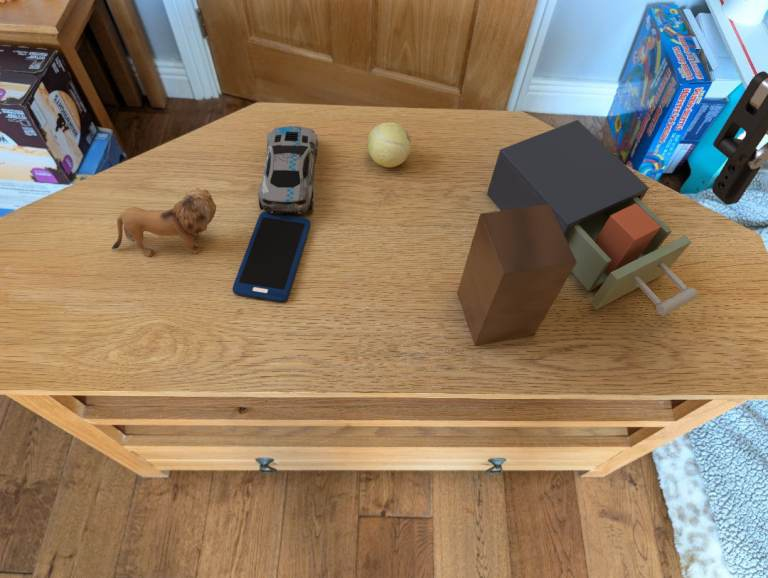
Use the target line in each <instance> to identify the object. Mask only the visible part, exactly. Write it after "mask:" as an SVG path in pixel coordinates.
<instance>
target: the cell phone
mask: <svg viewBox="0 0 768 578" xmlns="http://www.w3.org/2000/svg"><path fill="white" fill-rule="evenodd" d="M255 223H256V224H255V226H254V228H253V231H252V234H251V236H250V239H249V242H248V245H247V247H246V250H245V253H244V255H243V258H242V261H241V263H240V266H239V269H238V271H237V274H236V277H235V279H234V282H233V285H232V289H231V290H232V292H233V294H234V295H237V296H241V297H247V298H252V299H258V300H265V301H271V302H277V303H286V302H288V299H289V297H290V294H291V292H292V289H293V286H294V285H293V284H294V282H295V278H296V275H297V272H298V269H299V265H300V262H301V259H302V256H303V252H304V250H305V249H304V248H305V246H306V243H307V239H308V236H309V233H310V230H311V225H312V224H311V220H310V219H309V218H307V217H303V216H297V215H291V214H285V213H283V214H282V213H279V214H278V213H275V214H271V213H267V212H265V211H262V212H261V213H259V216H258V218H257V220H256V222H255Z"/></svg>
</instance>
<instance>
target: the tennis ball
mask: <svg viewBox="0 0 768 578" xmlns="http://www.w3.org/2000/svg"><path fill="white" fill-rule="evenodd" d="M366 142H367V143H366V145H365V146H366V148H367V151H368V154H369V155H370V156H369V157H370V158H371V160H372V161H373V162H374V163H376V164H377V165H379V166H381V167H385V168H394V167H398V166H399V165H401V164H403V163H404V162H405V161H406V160H407V158H408V157H409V155H410V153H411V146H412V140H411V137H410V134H409V132H408V130H407V129H406V128H405V127H404V126H402V125H401V124H400V123H397V122H392V121H391V122H390V121H387V122H383V123H379V124H378V125H376V126H375V127H374V128H373V129H372V130H370V132H369V135H368V136H367V141H366Z"/></svg>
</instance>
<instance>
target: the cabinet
mask: <svg viewBox="0 0 768 578" xmlns="http://www.w3.org/2000/svg"><path fill="white" fill-rule="evenodd" d="M649 189H650V187H649V186H648V185H647V184H646V183H645V182H643V180H642V179H641V178H640V177H639V176H637V174H635V172H633V171H632V170H631V169H630V168H629V167H628V166H627V165H626V164H625V163H624V162H622V160H621V159H620V158H618V157H617V156H616V155H615V154H614V153H613V152H612V151H611V150H610V149H609V148H608V147H607V146H606V145H605V144H604V143H603V142H602V141H601V140H599V139H598V137H596V136H595V135H594V134H593V133H592V132H591V131H590V130H589V129H588V128H587V127H586V126H585V125H584V124H582V122H581V121H580V120H578V119H576V120H573V121H570V122H568V123H565V124H562V125H560V126H558V127H555V128H552V129H551V130H550V129H549V130H547V131H545V132H542V133H539V134H537V135H533V136H532V137H529V138H526V139H524V140H521V141H519V142H516V143H514V144H510V145H508V146H505V147H503V148H500V149H499V152H498V155H497V158H496V162H495V165H494V169H493V171H492V175H491V179H490V182H489V184H488V189H487V193H486V195H487V196H488V197H489V198H490V199H491V201H492V203H494V204H495V206H496V207H497V208H498V209H499V211H504V210H511V209H518V208H526V207H533V206H540V205H547V204H549V205H550V207H551V209H552V212H553V214H554V216H555V218H556V220H557V222H558V224H559V226H560V228H561V230H562V232H563V234H564V236H565V238H566V236H567V234H568V232H569V230H570V228H571V226H573V225H575V224H578V223H580V222H582V221H584V220H586V219H588V218H591V217H593V216H595V215H597V214H599V213H602V212H604V211H606V210H608V209H610V208H613V207H615V206H617V205H619V204H621V203H624V202H626V201H628V200H630V199H632V198H635V197H638V198H639V199H640V200H641V201H642V200H643V199H644V197H645V196H646V194H647V192H648V190H649Z"/></svg>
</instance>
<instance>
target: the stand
mask: <svg viewBox="0 0 768 578" xmlns="http://www.w3.org/2000/svg"><path fill="white" fill-rule="evenodd" d="M467 254H468V255H467V258H466V261H465V264H464V268H463V272H462V275H461V278H460V282H459V285H458V288H457V292H456V293H457V297H458V299H459V300H458V301H459V303H460V306H461V308H462V311H463V315H464V318H465V320H466V323H467V327H468V329H469V333H470V335H471V338H472V341H473V345H474V346H482V345H487V344H492V343H498V342H505V341H510V340H515V339H520V338H527V337H532V336H535V335H536V334H537V332H538V330H539V328H540V327H541V325H542V324H543V321H544V320H545V318H546V317H547V315H548V313H549V312H550V309H551V308H552V306H553V305H554V303H555V301H556V300H557V298H558V296H559V294H560V292H561V291H562V290H563V287H564V286H565V284H566V282H567V280H568V278H569V276H570V275H571V274H572V270H573V268H574V267H575V265H576V263H577V261H576V259H575V257H574V255H573V253H572V251H571V249H570V247H569V245H568V243H567V240H566V238H565V236H564V234H563V232H562V230H561V228H560V226H559V224H558V222H557V220H556V218H555V216H554V214H553V212H552V209H551V207H550V205H549V204H547V205H540V206H533V207H526V208H518V209H511V210H504V211H501V210H496V211H490V212H489V211H488V212H483V213H480V214H479V217H478V220H477V223H476V226H475V231H474V234H473V237H472V240H471V245H470V247H469V251H468V253H467Z"/></svg>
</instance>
